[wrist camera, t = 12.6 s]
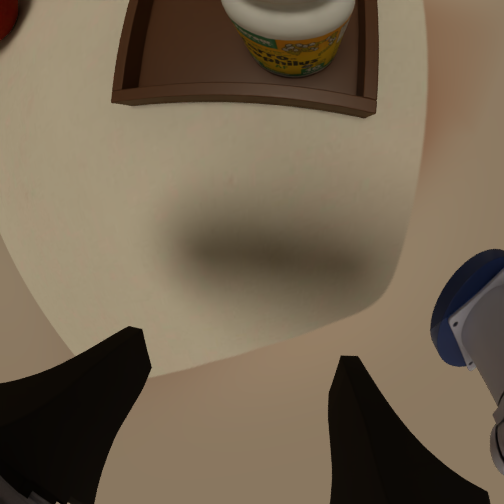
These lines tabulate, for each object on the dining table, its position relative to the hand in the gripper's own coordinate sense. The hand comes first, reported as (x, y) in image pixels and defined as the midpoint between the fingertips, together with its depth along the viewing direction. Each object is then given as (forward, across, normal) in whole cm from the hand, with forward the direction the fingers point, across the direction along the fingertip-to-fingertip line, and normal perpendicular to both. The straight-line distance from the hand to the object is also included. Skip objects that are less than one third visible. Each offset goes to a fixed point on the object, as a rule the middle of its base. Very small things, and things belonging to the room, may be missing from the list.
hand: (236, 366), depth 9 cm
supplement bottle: (+10, -1, -14) cm, 17 cm away
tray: (+10, +1, -25) cm, 27 cm away
